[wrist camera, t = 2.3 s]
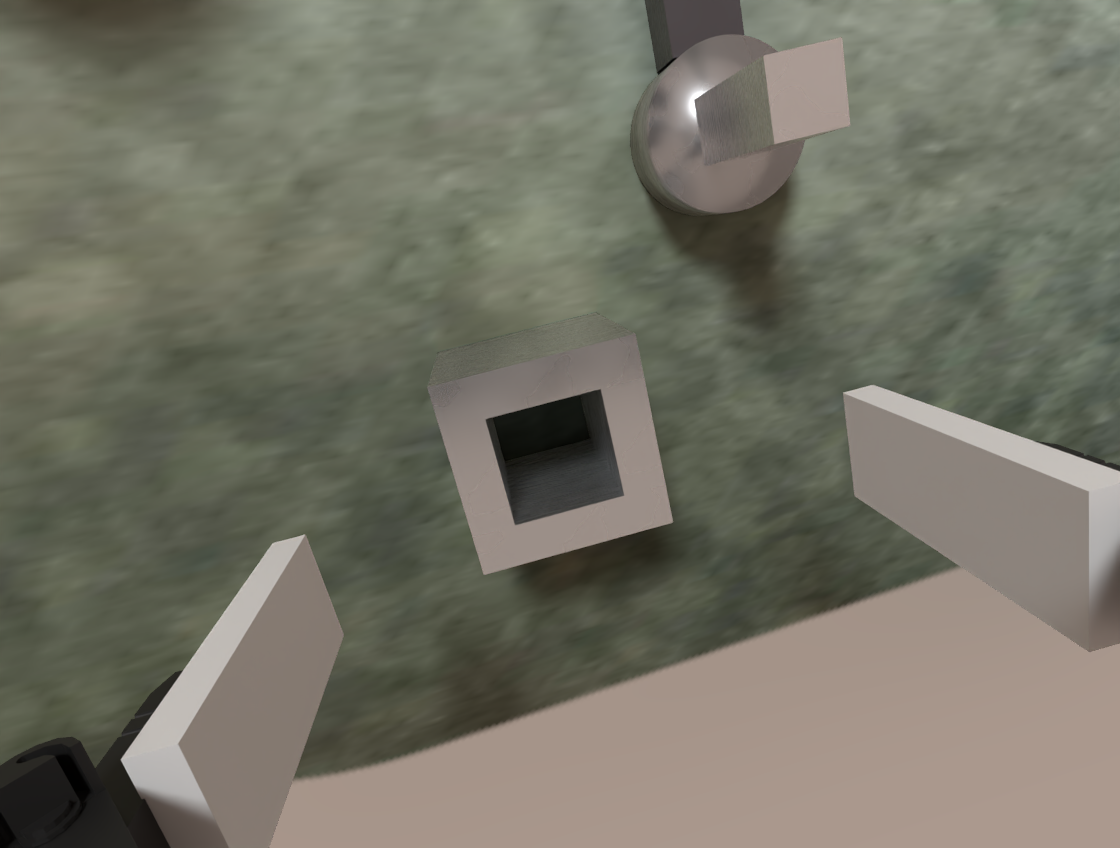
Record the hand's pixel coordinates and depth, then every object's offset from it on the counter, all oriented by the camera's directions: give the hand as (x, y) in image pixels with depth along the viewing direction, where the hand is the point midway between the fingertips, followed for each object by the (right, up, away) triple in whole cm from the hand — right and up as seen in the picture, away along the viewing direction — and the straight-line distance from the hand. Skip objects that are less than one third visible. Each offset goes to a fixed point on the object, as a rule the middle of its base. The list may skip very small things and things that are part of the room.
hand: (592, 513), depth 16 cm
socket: (-2, +3, +9) cm, 10 cm away
